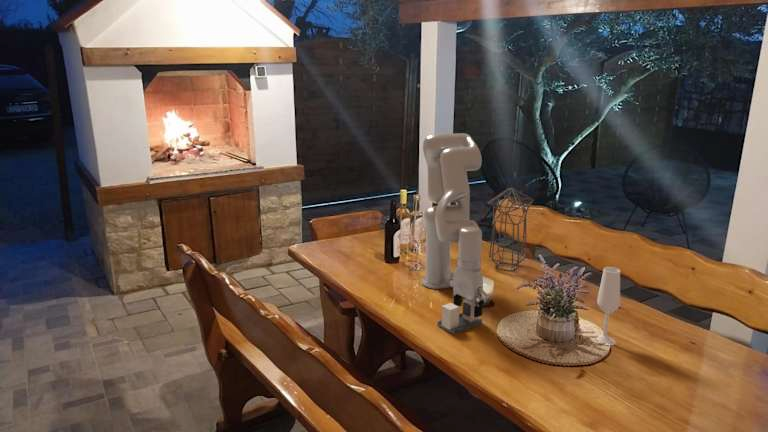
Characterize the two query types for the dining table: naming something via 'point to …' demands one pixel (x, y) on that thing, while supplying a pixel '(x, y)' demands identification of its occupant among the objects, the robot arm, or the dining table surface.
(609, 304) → the champagne flute
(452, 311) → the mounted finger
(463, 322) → the grey slab
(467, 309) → the white rectangular block
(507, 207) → the geometric lantern
